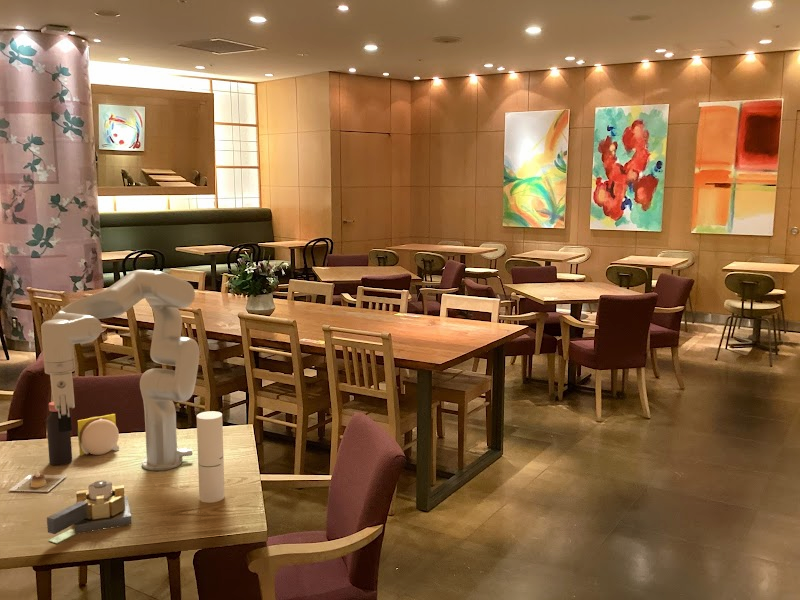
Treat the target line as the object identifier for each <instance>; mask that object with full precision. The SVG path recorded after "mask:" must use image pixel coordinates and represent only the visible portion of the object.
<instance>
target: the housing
mask: <svg viewBox="0 0 800 600" xmlns="http://www.w3.org/2000/svg"><path fill="white" fill-rule="evenodd" d="M112 486H113V483H112V482H110V481H107V480H97V481H94V482H93V483H90V484H89V485H88V486H87V487H88V491H89V500H92V501H97V499H96V498H97V495H102V494H104V500H107V499H109V498H111V497H113V492H112ZM124 496H125V509H124V510H123V511H121V512H119V513H118V514H116V515H114V516H110V517H107V518H99V519H93V518H92V519H87V518H85V519H83V520H81V521H79V522H77V523H76V524H74V525H73V526H74V527H73V528H74V529H73V528H70V529H68V530H66V531H64V532H62V533H60V534H58V535H56V536H53V537H52V538H50V539H48V542H49V543H52V544H55V545H58V544H60V543H62V542H64V541H66V540H69V539H70V538H72V537H74V536H76V535H79V533H80V534H84V533H83V532H86V533H89V532H88V531H92V530H98V529H103V528H110V529H112V528H111V527H115V528H118V527H117V526H121V527H125V526H124V525H127V526H130V525H129V524H132V514H131V510H130V506H129V505H130V504H129V501H128V495H124ZM98 531H99V530H98ZM92 532H93V531H92Z"/></svg>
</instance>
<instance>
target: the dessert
mask: <svg viewBox="0 0 800 600" xmlns="http://www.w3.org/2000/svg"><path fill="white" fill-rule="evenodd" d="M67 476H68V475H67V474H44V473H40V472H39V471H35V473H34V474H33V473H32V474H31V473H30V474H28V475H26V476H25V477H24V478H22V479H21V480H20V481H18V482H17V483H16V484H15V485H13V486H12V487H11V488H9V490H8V491H9V492H21V491H22V492H21V493H23V491H24V492H26V493H27V492H28V493H31V492H32V493H48V492H50V491H51V490H52V489H53V488H54V487H56V486H57V485H58V484H59V483H60V482H62V481H63V480H64V479H65V478H66V477H67ZM61 478H62V479H61ZM46 479H59V480H58V481H57V482H55V485H54V484H53V485H52V486H50V488H48V491H47V490H27V489H26V490H25V489H21V490H20V489H19V488H21V486H23V485H24V484H25V483H27V482H28V481H29V480H31V481H30V487H31V488H41V487H40V486H42V487H45V486H46V485H47V484H48V483H47V480H46ZM22 484H23V485H22ZM44 485H45V486H44ZM18 487H19V488H18ZM17 489H19V490H17Z"/></svg>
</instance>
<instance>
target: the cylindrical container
mask: <svg viewBox="0 0 800 600" xmlns="http://www.w3.org/2000/svg"><path fill="white" fill-rule="evenodd" d="M223 424H224V423H223V413H222V412H220V411H213V410H211V411H201V412H200V413H198V414H196V435H197V437H196V438H197V439H196V440H197V442H196V443H197V462H198V463H197V467H198V470H197V471H198V494H199V495H198V498H199V501H200V500H201V502H202V503H209V504H210V503H211V504H212V503H218V502H220V501H222V500H224V498H225V495H226V494H225V493H226V492H225V465H224V434H223V433H224V430H223V429H224V428H223V427H224V426H223Z"/></svg>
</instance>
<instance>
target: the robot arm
mask: <svg viewBox="0 0 800 600" xmlns="http://www.w3.org/2000/svg"><path fill="white" fill-rule="evenodd" d="M195 296H196V293H195V288H194V287H193V285H192V284H191V283H190V282H189V281H187V280H184V279H183V278H179V277H177V276H175V275H172V274H169V273H167V272H164V271H160V270H159V271H158V270H147V269H136V270H132V271H130V272H128V273H127V274H126V275H124V276H123V277H122V278H120V279H119V280H117V281H116V282H115V283H112V285H110V286H109V287H107V288H106V289H104V290H102V291H99V292H95V293H92V294H90V295H87V296H85V297H82V298H79V299H75V300H74V301H72V302H70V303H68V304H67V305H65V306H64V307H63V308H61V309H60V310H58V311H57V312H56V313H55V314H54V315H53V316H52V317H51V319H48V320H45V321H44V322H43V323H42V324H41V326H40V330H41V333H40V334H41V335H40V336H41V343H42V345H41V346H42V354H43V367H44V373H45V375H49V376H50V377H49V378H50V386H51V394H52V400H53V401H54V406H55V409H56V410H58V415H59V417H58V427H59V432H66V431H70V432H71V431H72V418H71V414H70V408H71V409H74V408H75V407H76V406H75V403H76V402H75V393H74V391H75V390H74V381H73V373H72V372H74V371H76V359H75V349H74V345H76V344H86V343H91V342H93V341H95V340H96V339H98V338H99V337H100V336H101V333H102V329H103V325H102V322H101V320H100V319H108V318H113V317H118V316H122V315H123V314H125V313H126V312H127V311H128V310H130V309H131V308H133V307H134V306H135V305H137V304H138V303H139V302H140V301H142V300H144V299H145V301H146V302H147V304H149V306H150V308H151V310H152V311H153V312H152V314H153V315H154V327H153V331H152V338H151V345H150V352H149V354H150V355H149V356H150V359H151V360H152V361H153V362H154V363H156V364H160V365H164V366H165V365H166V366H171V367H172V366H173V367H175V368H174V369H175V370H172V369H167V368H157V367H156V368H155V367H154V368H150V369H147V370H146V371H145V372H143V373H142V375H141V377H140V379H139V389H140V394H141V397H142V400H143V401H142V402H143V409H144V423H145V425H144V426H145V427H144V429H145V446H146V447H145V448H146V457H145V458H144V459H142V461H141V466H142V468H143V469H146V470H149V471H158V472H159V471H166V470H167V471H168V470H171V469H175V468H177V467H179V466H180V465H181V464H182V463H183V457H189V456H193V450H192V449H187V448H188V447H186V448H181V449H180V448H179V447H178V440H177V439H178V436H177V413H176V412H177V411H176V410H177V409H176V406H175V403H174V402H178V403H183V402H187V401H189V399H191V397H192V396H193V394H194V391H195V387H196V382H197V376H198V370H199V363H200V355H201V353H200V351H201V350H200V348H199V347H200V346H199V344H198V342H197V341H196V340H195V339H193V338H191V337H187V336H182V331H183V330H182V327H183V317H182V314H181V311H180V309H185V308H188V307H190V306H191V305H192V304H193V302H194V301H195V298H196V297H195ZM53 401H52V402H53Z"/></svg>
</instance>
